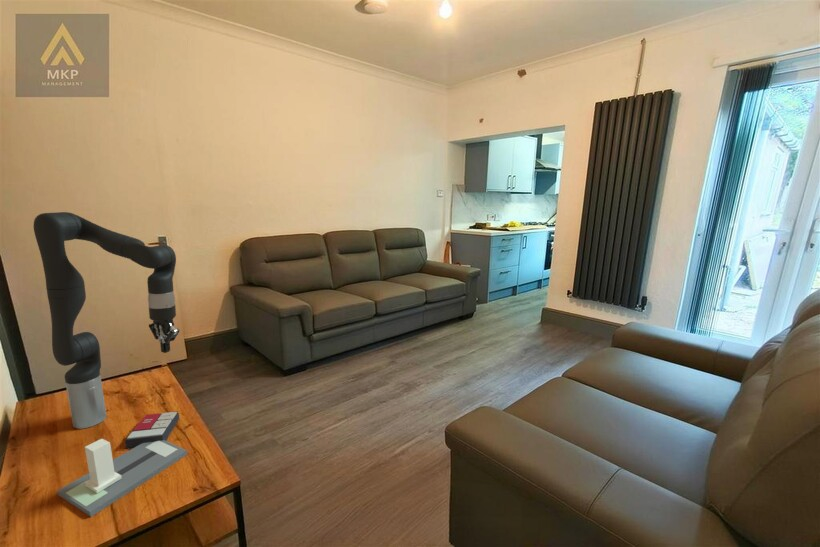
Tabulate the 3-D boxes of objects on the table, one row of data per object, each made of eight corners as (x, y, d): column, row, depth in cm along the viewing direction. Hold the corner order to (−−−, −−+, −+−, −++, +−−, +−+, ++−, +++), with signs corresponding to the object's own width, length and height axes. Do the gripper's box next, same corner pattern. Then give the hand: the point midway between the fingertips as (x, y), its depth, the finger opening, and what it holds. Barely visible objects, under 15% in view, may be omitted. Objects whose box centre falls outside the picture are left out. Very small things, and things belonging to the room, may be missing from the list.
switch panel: (58, 495, 99) (57, 490, 99) (155, 439, 123) (155, 435, 122) (90, 517, 93) (90, 512, 93) (187, 454, 117) (186, 450, 116)
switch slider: (84, 485, 101) (78, 448, 98) (109, 471, 106) (103, 435, 104) (97, 493, 98) (90, 454, 96) (121, 478, 104) (116, 441, 101)
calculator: (179, 410, 134) (162, 433, 120) (179, 420, 135) (163, 445, 121) (145, 413, 132) (124, 437, 117) (146, 424, 132) (125, 449, 118)
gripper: (137, 303, 121) (142, 351, 125) (163, 310, 116) (167, 360, 120) (160, 298, 128) (164, 344, 132) (185, 305, 123) (189, 352, 127)
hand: (165, 351), depth 126 cm, fingers closed
